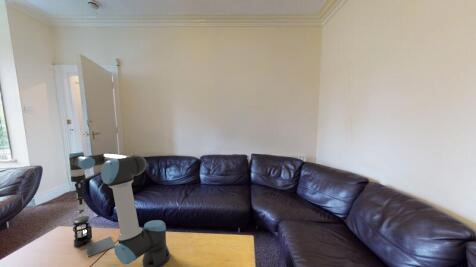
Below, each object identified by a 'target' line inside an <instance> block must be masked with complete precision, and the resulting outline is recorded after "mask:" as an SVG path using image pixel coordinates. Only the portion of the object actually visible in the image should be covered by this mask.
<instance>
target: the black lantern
mask: <svg viewBox="0 0 476 267" xmlns="http://www.w3.org/2000/svg"><path fill="white" fill-rule="evenodd" d="M84 211H85V209H79V210H77V211H76V212H75V213H76V214H77V213H78V214H79V217H77V218H75V219H72V221H71V223H72V224H73V228H72V231H73V232H74V235H73V237H74V239H73V247H74V248H80V247H81V248H82V247H83V246H86V245H89V244H91V241H92V238H93V231H92V229H93V228H92V225H91V223H90V222H89V221H90V216H89V215H84V216H83V215H82V213H83V212H84ZM83 225H85V227H83ZM78 227H81V228H80V229H79V228H78Z"/></svg>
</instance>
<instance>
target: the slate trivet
mask: <svg viewBox="0 0 476 267" xmlns="http://www.w3.org/2000/svg"><path fill="white" fill-rule="evenodd" d="M115 245H116V244H115V243H114V240H113V238H112V236H108V237H106V238H103V239H100V240H97V241H94V242H92V243H91V242H90V243H88V244H87V245H85V247H86V253H87V258H91V257H93V256H95V255H97V254H100V253H104V252H106V251H108V250H111V249H112V248H115Z"/></svg>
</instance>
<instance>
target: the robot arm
mask: <svg viewBox="0 0 476 267" xmlns="http://www.w3.org/2000/svg"><path fill="white" fill-rule="evenodd" d="M68 156H69V157H68V160H69V161H68V162H69V174H70V182H71V183H74V187H75V191H76V203H77V206H78V207H77V208H78V209H77V211H79V210H84V209H85V207H84V206H85V205H84V194H83V193H84V192H83V189H84V188H83V186H84V184H83V181H85V180H86V178H87V177H86V171H87V170H89V169H92V168H93V167H97V166H102V167H101V169H100V170H101V171H100V176H101V177H100V178H101V180H102V182H103V184H106V185H108V188H111V189H112V192H113V198H114V199H113V200H114V203H115V204H114V205H115V210H116V215H117V221H118V226H119V231H120V234H119V236H118V237H117V241H118V242H117V243H116V244H114V245H115V247H113V248H114V254H115V256H116V259H118V260H119V262H120V263H121V264H123V265H129V264H131V263H133V262H134V261H137V259H139V258H140V257H142V267H163V266H164V265H165V264H166V263H168V262H169V260H170V257H171V253H170V250H169V248H168V245H167V232H166V231H167V226H166V223H165V222H164V221H163V220H160V219H157V220H156V219H155V220H150V221H147V222H145V223H144V226H143V228H142V227H140V225H139V220H138V215H137V209H136V203H135V199H134V193H133V188H132V184H133V182H134V177H136V176H139V175H141V174H142V173H144V171H145V170H146V168H147V160H146V159H145V157H143V156H142V155H138V154H133V155H125V154H124V155H123V154H116V153H115V152H110V151H109V152H104V153H99V154H91V155H85V154H84V151H72V152H70V153H69V155H68Z"/></svg>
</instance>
